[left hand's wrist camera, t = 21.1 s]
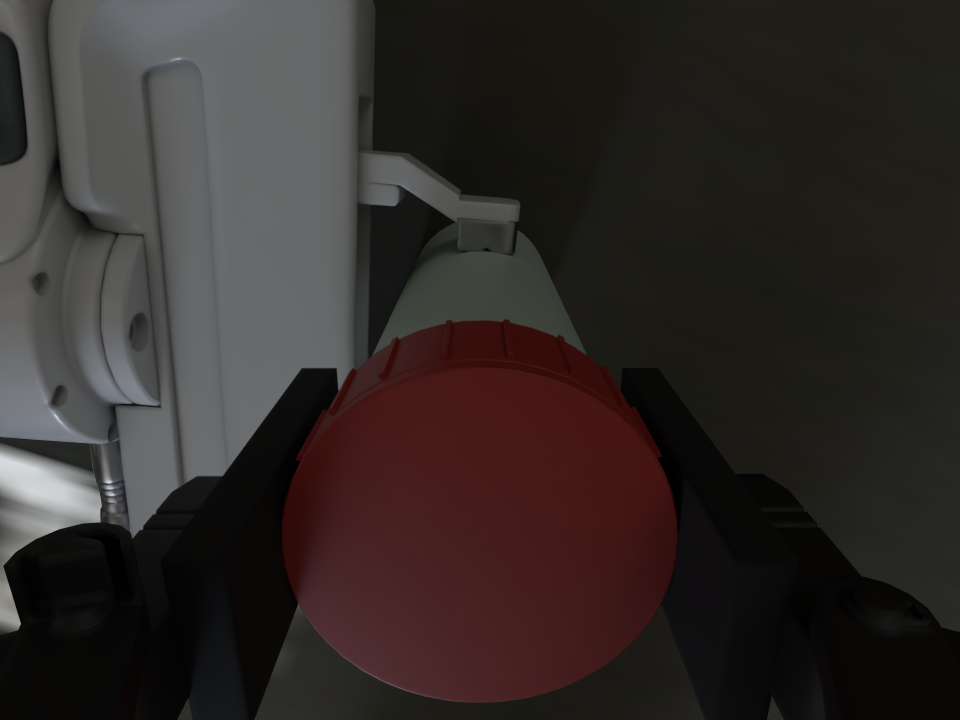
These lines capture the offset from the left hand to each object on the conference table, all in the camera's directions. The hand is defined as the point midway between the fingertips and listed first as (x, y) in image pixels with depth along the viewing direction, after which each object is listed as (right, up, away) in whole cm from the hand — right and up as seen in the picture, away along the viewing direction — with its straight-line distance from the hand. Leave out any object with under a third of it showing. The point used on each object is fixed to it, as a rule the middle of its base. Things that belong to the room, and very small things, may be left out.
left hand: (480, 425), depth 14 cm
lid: (0, -1, -4) cm, 4 cm away
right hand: (+1, +2, +7) cm, 7 cm away
